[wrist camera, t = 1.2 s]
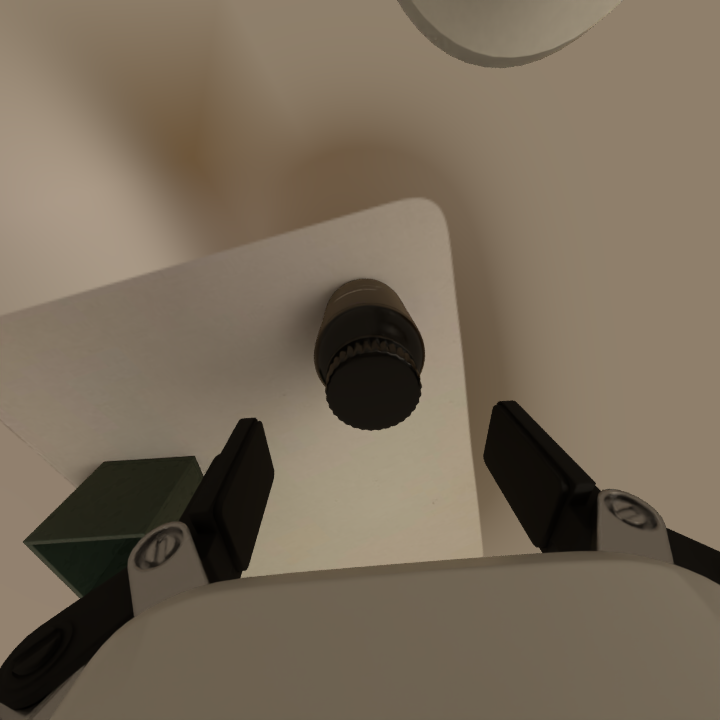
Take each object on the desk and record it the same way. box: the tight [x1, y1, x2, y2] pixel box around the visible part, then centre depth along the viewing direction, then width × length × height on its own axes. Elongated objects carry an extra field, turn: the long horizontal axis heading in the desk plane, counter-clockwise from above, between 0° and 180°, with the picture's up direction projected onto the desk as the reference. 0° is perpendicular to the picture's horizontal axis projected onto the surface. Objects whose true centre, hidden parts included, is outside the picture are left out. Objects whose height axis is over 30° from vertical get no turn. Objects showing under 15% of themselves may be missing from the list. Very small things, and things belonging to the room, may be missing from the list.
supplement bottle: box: [314, 279, 425, 431], centre depth 19 cm, size 7×7×12 cm
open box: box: [23, 456, 203, 598], centre depth 29 cm, size 10×10×8 cm
